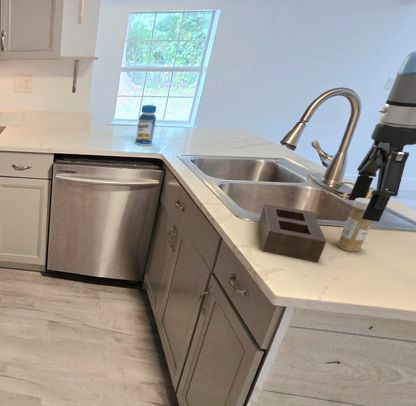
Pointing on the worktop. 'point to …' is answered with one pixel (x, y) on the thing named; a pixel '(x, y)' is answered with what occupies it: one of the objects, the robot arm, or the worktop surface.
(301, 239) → the spice stand
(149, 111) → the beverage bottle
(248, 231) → the worktop surface
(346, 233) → the sprinkles bottle
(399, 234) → the worktop surface
